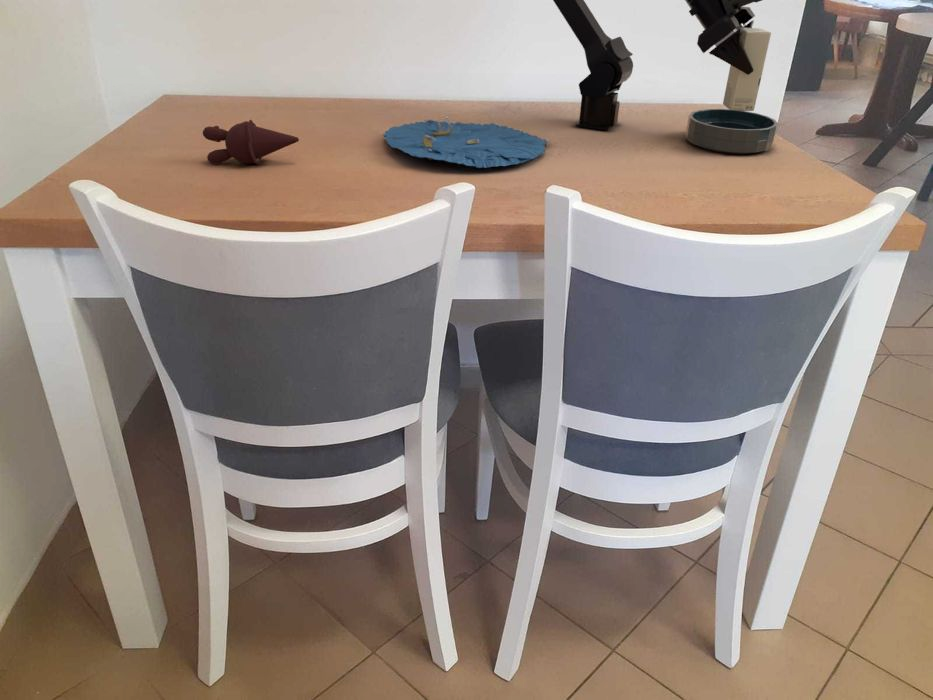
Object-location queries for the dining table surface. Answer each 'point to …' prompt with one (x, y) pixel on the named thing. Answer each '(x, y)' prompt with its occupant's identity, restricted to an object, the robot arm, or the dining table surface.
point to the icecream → (246, 142)
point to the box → (745, 86)
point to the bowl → (731, 131)
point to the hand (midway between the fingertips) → (754, 69)
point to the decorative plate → (466, 143)
